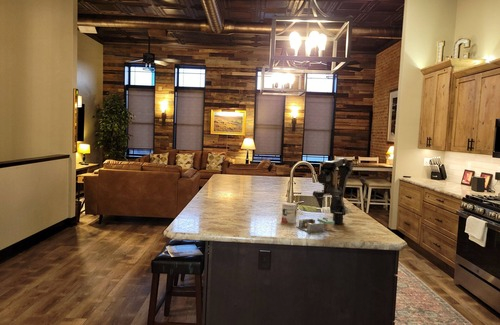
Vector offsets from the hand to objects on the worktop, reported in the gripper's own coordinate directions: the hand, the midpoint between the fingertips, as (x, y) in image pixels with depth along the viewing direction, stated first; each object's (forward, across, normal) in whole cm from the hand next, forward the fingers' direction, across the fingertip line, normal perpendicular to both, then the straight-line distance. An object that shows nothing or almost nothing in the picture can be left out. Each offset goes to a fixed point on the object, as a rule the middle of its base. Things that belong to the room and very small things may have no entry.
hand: (327, 208), depth 224 cm
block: (+12, 0, 0) cm, 12 cm away
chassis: (+12, -11, 0) cm, 17 cm away
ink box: (+13, -14, +21) cm, 28 cm away
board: (+9, 0, 0) cm, 9 cm away
